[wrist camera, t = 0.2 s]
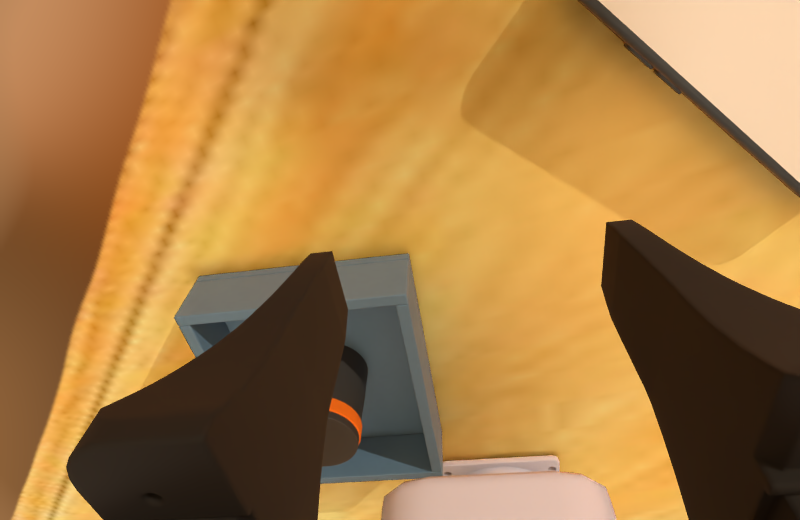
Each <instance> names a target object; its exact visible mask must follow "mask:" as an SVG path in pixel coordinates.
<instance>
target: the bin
mask: <svg viewBox="0 0 800 520" xmlns="http://www.w3.org/2000/svg"><path fill="white" fill-rule="evenodd" d="M335 264H336V267H337V271H338V275H339V278H340V282H341V285H342V289H343V293H344V296H345V300H346V303H347V307H348V316H347V329H346V339H345V344H344V345H345V346H348V347H350V348H352V349H353V350H355V351H356V352H358V353H359V354H360V355H361V356H362V357H363V359H364V360H365V362H366V364H367V367H368V376H367V384H366V391H365V399H364V407H363V414H362V434H361V441H360V444H359V446H358V449H357V452H356V453H355V455H354V456H353V457H352V458H351V459H349V460H348V461H346V462H344V463H342V464H339V465H334V466H324V467H322V471H321V482H320V484H322V483H342V482H361V481H381V480H401V479H420V478H425V477H435V476H443V455H442V429H441V424H440V418H439V413H438V408H437V402H436V397H435V391H434V386H433V381H432V375H431V370H430V365H429V359H428V354H427V348H426V343H425V338H424V332H423V327H422V322H421V316H420V311H419V305H418V300H417V295H416V289H415V284H414V278H413V273H412V268H411V262H410V257H409V254H408V253H407V254H398V255H389V256H380V257H370V258H361V259H352V260H343V261H335ZM298 266H299V265H297V266H288V267H279V268H270V269H261V270H252V271H242V272H233V273H224V274H215V275H206V276H199V277H198V279H197V280H196V283H195V284H194V285H193V287H192V289H191V290H190V292H189V294H188V295H187V297H186V299H185V300H184V302H183V303H182V305H181V307H180V308H179V310H178V312H177V313H176V315H175V317H174V318H175V320H176V322H177V324H178V326H179V328H180V329H181V331H182V333H183V335H184V337H185V339H186V341H187V342H188V344H189V346H190V348H191V350H192V352H193V353H194V355H195V357H198V356H199V355H201V354H202V353H204V352H205V351H206V350H208V349H209V348H211V347H212V346H214V345H215V344H217V343H218V342H219V341H221V340H222V339H223V338H224V337H226V336H227V335H228V334H229V333H231V332H232V331H233V330H235V329H236V328H237V327H238V326H239V325H240V324H242V323H243V322H244V321H245V320H246V319H247V318H248V317H249V316H250V315H252V314H253V313H254V312H255V311H256V310H257V309H258V308H259V307H260V306H261V305H262V304H263V303H264V302H265V301H266V300H267V299H268V298H269V297H270V296H271V295H272V294H273V293H274V292H275V291H276V290H277V289H278V288H279V287H280V286H281V285H282V284H283V283H284V281H285V280H286V279H287V278H288V277H289V276H290V275H291V274H292V273H293V272H294V271H295V269H296V268H297V267H298Z"/></svg>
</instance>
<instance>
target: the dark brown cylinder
mask: <svg viewBox="0 0 800 520" xmlns="http://www.w3.org/2000/svg"><path fill="white" fill-rule="evenodd" d="M367 376H368V367H367V364H366V362H365V360H364V359H363V357H362V356H361V355H360V354H359V353H358V352H356V351H355V350H353V349H352V348H350V347H348V346H345V345H344V349H343V353H342V358H341V362H340V366H339V371H338V375H337V379H336V383H335V388H334V392H333V396H332V400H331V405H330V409H329V415H328V420H327V426H326V435H325V443H324V452H323V461H322V467H324V466H334V465H339V464H342V463H344V462H346V461H348V460H349V459H351V458H352V457H353V456H354V455H355V453H356V452H357V449H358V446H359V444H360V441H361V434H362V414H363V407H364V399H365V391H366V384H367Z"/></svg>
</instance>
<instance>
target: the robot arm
mask: <svg viewBox="0 0 800 520" xmlns="http://www.w3.org/2000/svg"><path fill="white" fill-rule="evenodd" d="M601 287H602V290H603V293H604V297H605V300H606V303H607V307H608V310H609V313H610V316H611V319H612V321H613V323H614V325H615V327H616V329H617V331H618V334H619V336H620V338H621V340H622V342H623V344H624V346H625V348H626V350H627V352H628V354H629V356H630V358H631V361H632V363H633V365H634V367H635V369H636V371H637V373H638V375H639V377H640V379H641V381H642V383H643V385H644V387H645V390H646V392H647V394H648V397H649V399H650V401H651V404H652V407H653V410H654V412H655V415H656V418H657V421H658V424H659V427H660V430H661V432H662V435H663V438H664V441H665V444H666V447H667V450H668V453H669V457H670V460H671V463H672V466H673V469H674V472H675V475H676V478H677V482H678V485H679V488H680V492H681V495H682V498H683V502H684V505H685V508H686V512H687V515H688V518H689V520H800V309H798V308H795V307H793V306H790V305H787V304H785V303H782V302H780V301H777V300H775V299H772V298H770V297H767V296H765V295H763V294H761V293H758V292H756V291H754V290H752V289H750V288H747V287H745V286H743V285H741V284H739V283H737V282H735V281H733V280H731V279H729V278H727V277H725V276H723V275H721V274H719V273H718V272H716V271H714V270H712V269H710V268H708V267H706V266H705V265H703V264H701V263H700V262H698V261H696V260H694V259H693V258H691V257H689V256H688V255H686V254H685V253H683V252H681V251H680V250H678V249H677V248H675V247H673V246H672V245H670V244H669V243H667V242H666V241H664V240H663V239H661V238H660V237H658V236H657V235H655V234H654V233H652V232H650V231H649V230H647V229H646V228H644V227H643V226H641V225H640V224H638V223H636V222H635V221H633V220H624V221H615V222H606V234H605V246H604V259H603V271H602V283H601ZM347 316H348V307H347V303H346V300H345V296H344V293H343V289H342V285H341V282H340V278H339V275H338V271H337V267H336V264H335V260H334V257H333V253H332V251H331V252H321V253H312V254H310V255H309V256H308V257H307V258H306V259H305V260H304V261H303V262H302V263H301V264H300V265H299V266H298V267H297V268H296V269H295V271H294V272H293V273H292V274H291V275H290V276H289V277H288V278H287V279H286V280H285V281H284V283H283V284H282V285H281V286H280V287H279V288H278V289H277V290H276V291H275V292H274V293H273V294H272V295H271V296H270V297H269V298H268V299H267V300H266V301H265V302H264V303H263V304H262V305H261V306H260V307H259V308H258V309H257V310H256V311H255V312H254V313H253V314H252V315H250V316H249V317H248V318H247V319H246V320H245V321H244V322H243V323H242V324H240V325H239V326H238V327H237V328H236V329H235V330H233V331H232V332H231V333H229V334H228V335H227V336H226V337H224V338H223V339H222V340H221V341H219V342H218V343H217V344H215V345H214V346H212V347H211V348H209V349H208V350H206V351H205V352H204V353H202V354H201V355H199V356H198V357H196V358H195V359H193V360H192V361H190V362H189V363H187V364H186V365H184V366H182V367H181V368H179V369H177V370H176V371H174V372H172V373H171V374H169V375H167V376H165V377H164V378H162V379H160V380H158V381H156V382H155V383H153V384H151V385H149V386H147V387H145V388H143V389H141V390H139V391H137V392H135V393H133V394H131V395H129V396H127V397H125V398H123V399H120V400H118V401H116V402H114V403H112V404H110V405H108V406H105V407H103V408H101V409H100V411H99V412H98V414H97V415H96V417H95V418H94V420H93V421H92V423H91V424H90V426H89V427H88V429H87V431H86V432H85V434H84V435H83V437H82V438H81V440H80V441H79V443H78V444H77V446H76V447H75V449H74V451H73V452H72V454H71V455H70V457H69V459H68V463H67V466H66V468H67V472H68V476H69V479H70V481H71V482H72V484H73V485H74V487H75V488H76V490H77V491H78V492H79V493H80V494H81V495H82V496H83V498H84V499H85V500H86V501H87V502H88V503H89V504H90V505H91V507H92V508H93V509H94V510H95V511H96V512H97V513H98V514H99V515H100V517H101V518H102V519H103V520H317V519H318V506H319V492H320V482H321V471H322V461H323V452H324V443H325V435H326V426H327V420H328V415H329V409H330V405H331V400H332V396H333V392H334V388H335V383H336V379H337V375H338V371H339V366H340V362H341V358H342V353H343V349H344V344H345V339H346V329H347ZM559 466H560V463H559V459H558V457H557V456H554V455H545V456H527V457H509V458H490V459H472V460H454V461H443V476H435V477H425V478H420V479H416V480H411V481H406V482H404V483H402V484H401V485H399V486H398V487H397V488H395V489H394V490H393V491H391V492H390V493H388V494H387V495H386V496H384V501H383V507H382V516H381V520H617V519H616V515H615V512H614V509H613V506H612V502H611V500H610V497H609V494H608V492H607V489H606V487H604V486H603V485H601V484H599V483H597V482H595V481H593V480H592V479H590V478H588V477H586V476H584V475H582V474H578V473H569V472H559Z"/></svg>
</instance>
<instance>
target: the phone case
mask: <svg viewBox="0 0 800 520" xmlns="http://www.w3.org/2000/svg"><path fill="white" fill-rule="evenodd" d="M578 1H579V2H580V3H581V4H582V5H583V6H585V7H586V8H587V9H588V10H589V11H590V12H591V13H592V14H594V15H595V16H596V17H597V18H598V19H599V20H600V21H601V22H603V23H604V24H605V25H606V26H607V27H608V28H609V29H610V30H612V31H613V32H614V33H615V34H616V35H617V36H618V37H619V38H621V39H622V40H623V41H624V42H625V44H624V46H625V47H626V48H627V49H628V50H629V51H630V52H631V53H632V54H634V55H635V56H636V57H637V58H638V59H639V60H640V61H641V62H643V63H644V64H645V65H646V66H647V67H649V68H650V69H652V68H654V69H655V70H654V73H655V74H656V75H657V76H658V77H660V78H661V79H662V80H663V81H664V82H665V83H666V84H667V85H669V86H670V87H671V88H672V89H673V90H674V91H675V92H677V93H678V94H681V93H682V94H684V95H685V96H686V97H687V98H688V99H689V100H690V101H691V102H692V103H694V104H695V105H696V106H697V107H698V108H699V109H700V110H701V111H703V112H704V113H705V114H706V115H707V116H708V117H709V118H710V119H712V120H713V121H714V122H715V123H716V124H717V125H718V126H719V127H721V128H722V129H723V130H724V131H725V132H726V133H727V134H728V135H730V136H731V137H732V138H733V139H734V140H735V141H736V142H737V143H739V144H740V145H741V146H742V147H743V148H744V149H745V150H746V151H748V152H749V153H750V154H751V155H752V156H753V157H754V158H755V159H757V160H758V161H759V162H760V163H761V164H762V165H763V166H764V167H766V168H767V169H768V170H769V171H770V172H771V173H772V174H773V175H775V176H776V177H777V178H778V179H779V180H780V181H781V182H782V183H784V184H785V185H786V186H787V187H788V188H789V189H790V190H791V191H793V192H794V193H795V194H796V195H797V196H799V197H800V0H578Z"/></svg>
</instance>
